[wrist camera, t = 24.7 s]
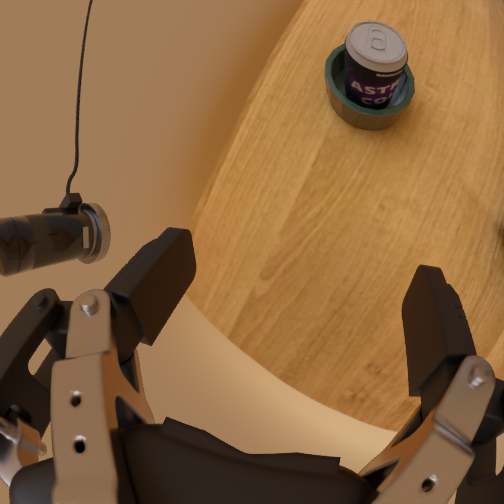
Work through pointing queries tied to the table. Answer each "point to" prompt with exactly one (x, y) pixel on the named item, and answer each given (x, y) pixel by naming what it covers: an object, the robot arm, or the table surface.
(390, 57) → the beverage can
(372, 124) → the green round bowl
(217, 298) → the table surface
